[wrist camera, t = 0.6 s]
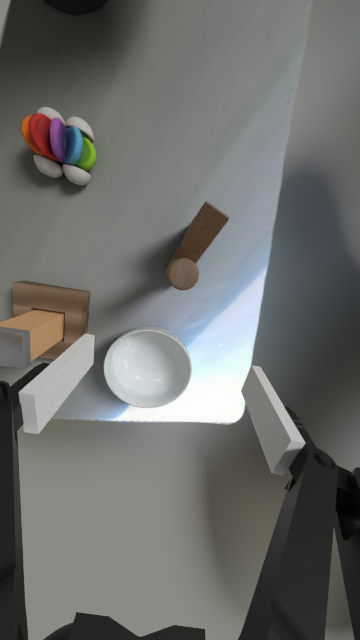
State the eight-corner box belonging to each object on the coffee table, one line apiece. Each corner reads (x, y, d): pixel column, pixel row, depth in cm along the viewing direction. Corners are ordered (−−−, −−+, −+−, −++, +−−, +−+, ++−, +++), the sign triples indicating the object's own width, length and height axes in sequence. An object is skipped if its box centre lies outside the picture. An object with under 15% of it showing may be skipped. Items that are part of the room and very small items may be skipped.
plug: (43, 305, 39) (-20, 327, 26) (72, 309, 40) (24, 333, 26) (43, 330, 40) (-17, 363, 27) (71, 334, 41) (25, 368, 28)
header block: (25, 280, 37) (11, 282, 34) (90, 291, 39) (82, 294, 35) (27, 346, 41) (14, 354, 38) (86, 354, 43) (79, 362, 39)
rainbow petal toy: (41, 115, 31) (5, 72, 24) (103, 136, 32) (86, 100, 25) (38, 175, 33) (4, 151, 26) (97, 192, 34) (79, 174, 27)
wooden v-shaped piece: (206, 233, 37) (242, 209, 20) (178, 282, 40) (188, 298, 22) (190, 222, 37) (213, 187, 19) (162, 273, 39) (160, 282, 22)
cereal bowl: (202, 359, 45) (209, 376, 38) (148, 399, 47) (145, 422, 40) (154, 303, 41) (152, 311, 34) (96, 350, 43) (83, 367, 36)
